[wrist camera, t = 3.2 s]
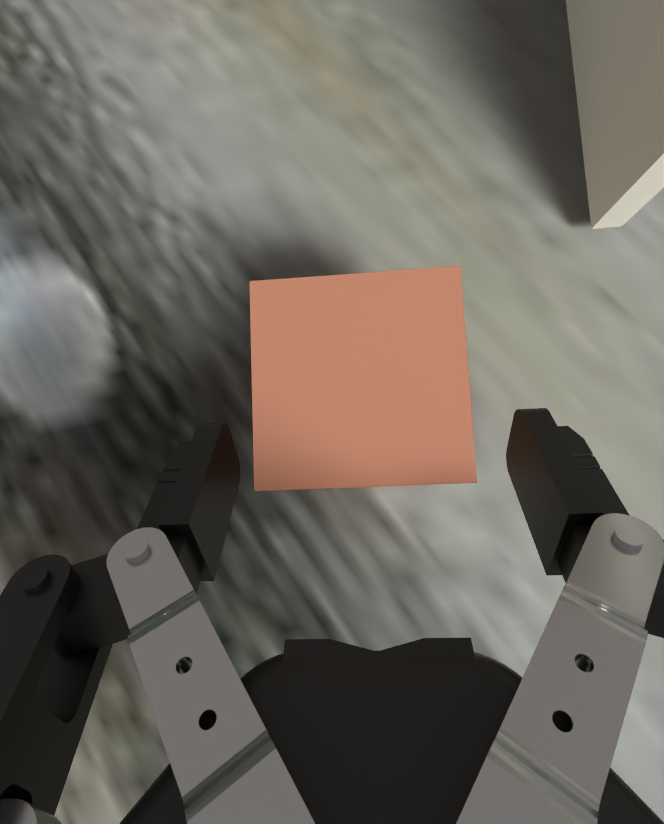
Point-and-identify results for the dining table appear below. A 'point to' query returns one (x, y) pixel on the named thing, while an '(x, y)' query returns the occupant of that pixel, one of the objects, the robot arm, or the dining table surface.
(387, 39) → the dining table surface
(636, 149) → the door
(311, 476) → the salmon orange block
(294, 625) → the dining table surface
